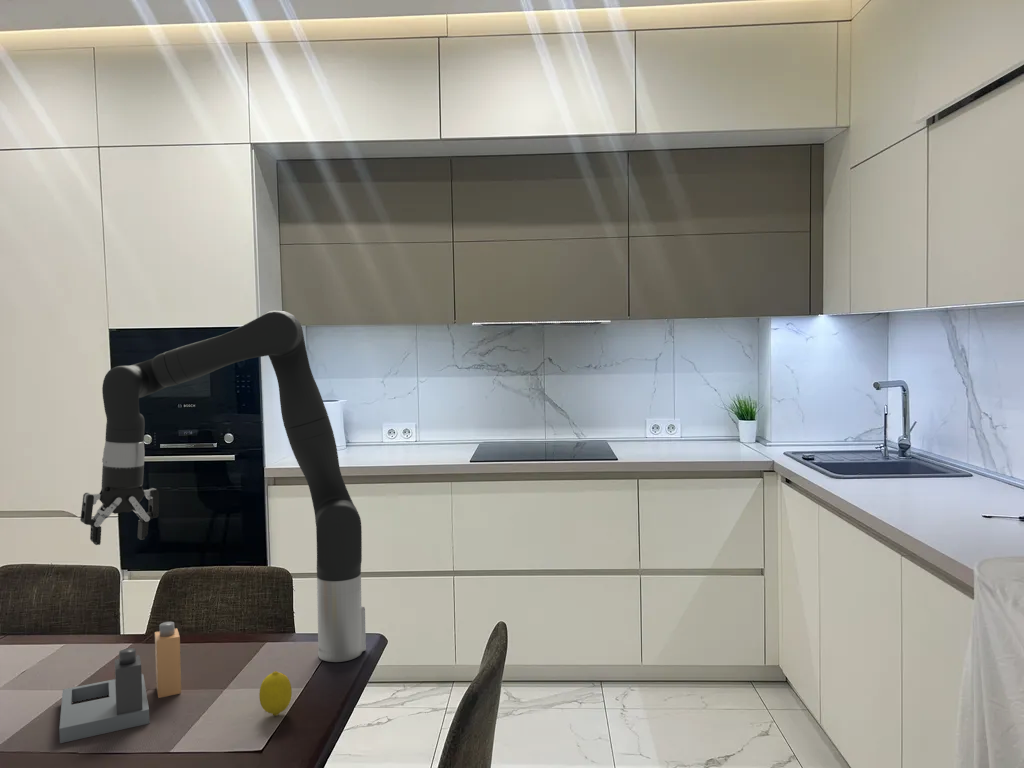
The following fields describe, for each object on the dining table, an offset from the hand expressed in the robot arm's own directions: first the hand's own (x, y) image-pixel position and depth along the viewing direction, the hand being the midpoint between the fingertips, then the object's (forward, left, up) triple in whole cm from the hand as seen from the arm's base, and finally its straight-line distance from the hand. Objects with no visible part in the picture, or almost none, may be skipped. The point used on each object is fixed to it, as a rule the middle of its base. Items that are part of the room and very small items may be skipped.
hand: (119, 541), depth 153 cm
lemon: (-6, +43, -27) cm, 51 cm away
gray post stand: (+11, +16, -27) cm, 33 cm away
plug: (0, +17, -27) cm, 32 cm away
